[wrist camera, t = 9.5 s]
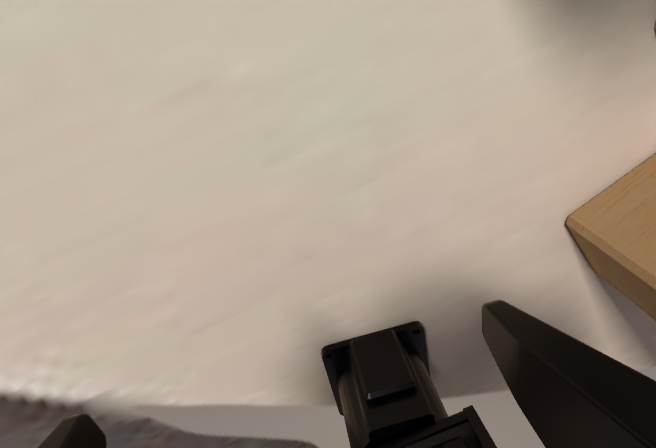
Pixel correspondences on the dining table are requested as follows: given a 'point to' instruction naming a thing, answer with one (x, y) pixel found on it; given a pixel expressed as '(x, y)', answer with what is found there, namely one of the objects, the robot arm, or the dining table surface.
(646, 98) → the dining table surface
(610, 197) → the decorative block
